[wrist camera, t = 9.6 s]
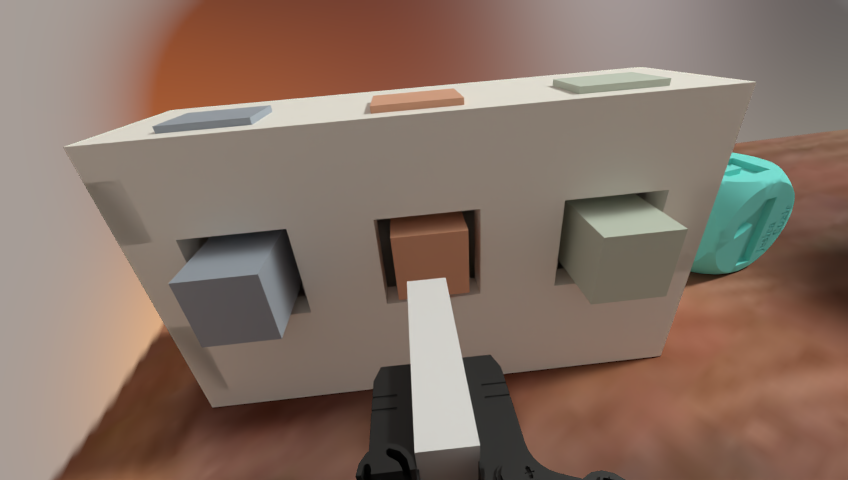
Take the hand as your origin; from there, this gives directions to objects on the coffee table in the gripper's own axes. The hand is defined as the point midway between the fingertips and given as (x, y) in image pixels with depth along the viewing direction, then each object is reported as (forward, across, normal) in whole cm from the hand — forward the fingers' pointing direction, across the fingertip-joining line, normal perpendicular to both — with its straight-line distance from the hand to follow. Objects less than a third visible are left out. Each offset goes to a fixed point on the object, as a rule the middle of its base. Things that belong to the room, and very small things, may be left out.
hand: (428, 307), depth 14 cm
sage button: (+4, +9, -2) cm, 10 cm away
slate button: (+4, -9, -2) cm, 10 cm away
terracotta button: (+6, 0, -2) cm, 6 cm away
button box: (+8, 0, -9) cm, 12 cm away
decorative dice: (+15, +24, -10) cm, 30 cm away
